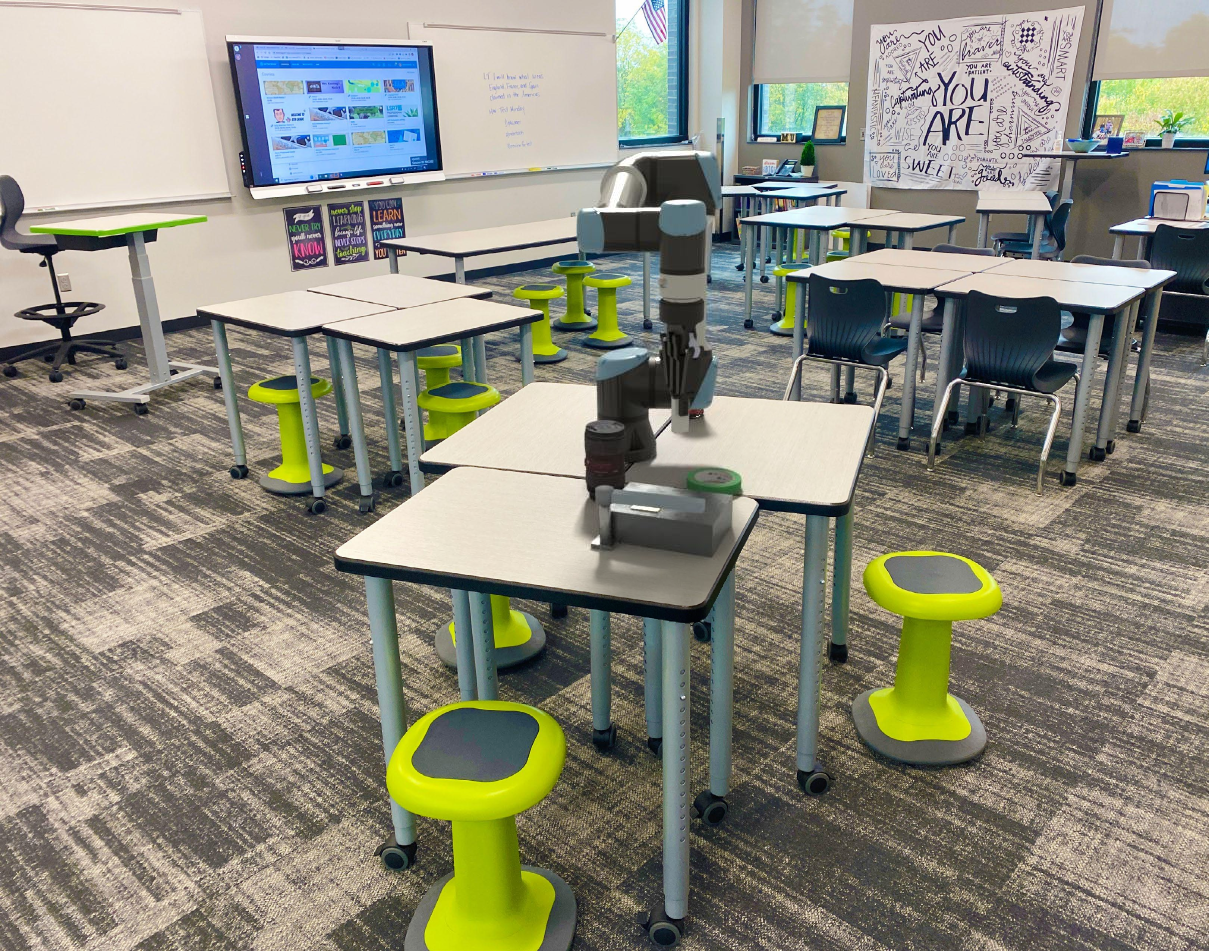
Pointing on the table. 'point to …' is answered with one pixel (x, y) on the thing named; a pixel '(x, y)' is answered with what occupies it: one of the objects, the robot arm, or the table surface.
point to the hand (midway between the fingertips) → (679, 431)
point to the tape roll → (714, 474)
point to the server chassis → (666, 523)
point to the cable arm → (648, 499)
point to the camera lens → (604, 455)
